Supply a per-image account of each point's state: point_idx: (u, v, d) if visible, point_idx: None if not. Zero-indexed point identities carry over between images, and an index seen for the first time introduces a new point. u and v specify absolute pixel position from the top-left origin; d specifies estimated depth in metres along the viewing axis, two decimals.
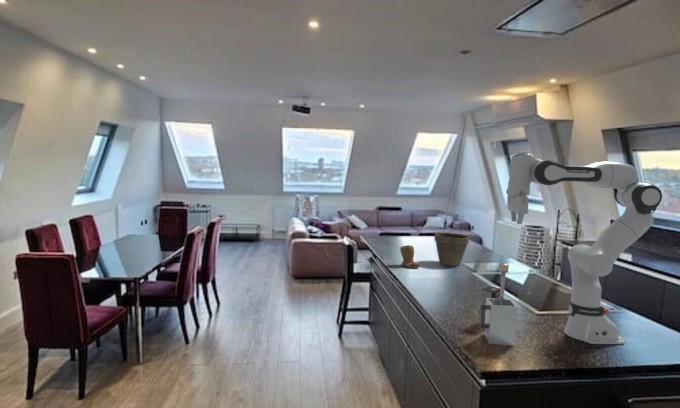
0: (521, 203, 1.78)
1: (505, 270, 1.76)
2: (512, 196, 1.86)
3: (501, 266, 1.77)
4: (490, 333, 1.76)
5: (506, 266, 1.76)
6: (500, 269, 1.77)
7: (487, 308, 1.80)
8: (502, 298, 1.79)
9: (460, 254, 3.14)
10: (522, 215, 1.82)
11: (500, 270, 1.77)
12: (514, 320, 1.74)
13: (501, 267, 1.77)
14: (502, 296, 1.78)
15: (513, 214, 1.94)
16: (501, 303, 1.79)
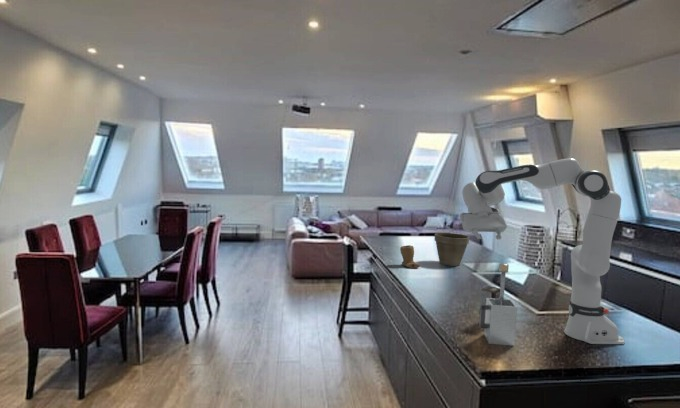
0: (462, 222, 1.93)
1: (505, 270, 1.76)
2: None
3: (501, 266, 1.77)
4: (490, 333, 1.76)
5: (506, 266, 1.76)
6: (500, 269, 1.77)
7: (487, 308, 1.80)
8: (502, 298, 1.79)
9: (460, 254, 3.14)
10: (473, 230, 1.90)
11: (500, 270, 1.77)
12: (514, 320, 1.74)
13: (501, 267, 1.77)
14: (502, 296, 1.78)
15: (498, 233, 1.92)
16: (501, 303, 1.79)
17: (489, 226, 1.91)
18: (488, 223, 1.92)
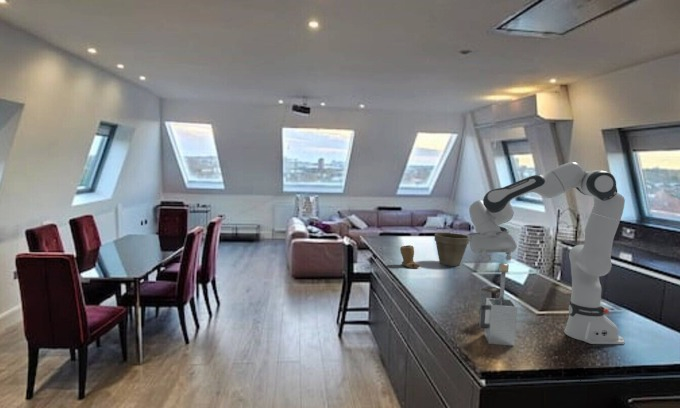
0: (470, 243, 1.86)
1: (505, 270, 1.76)
2: None
3: (501, 266, 1.77)
4: (490, 333, 1.76)
5: (506, 266, 1.76)
6: (500, 269, 1.77)
7: (487, 308, 1.80)
8: (502, 298, 1.79)
9: (460, 254, 3.14)
10: (482, 251, 1.82)
11: (500, 270, 1.77)
12: (514, 320, 1.74)
13: (501, 267, 1.77)
14: (502, 296, 1.78)
15: (507, 253, 1.85)
16: (501, 303, 1.79)
17: (498, 247, 1.84)
18: (497, 243, 1.85)
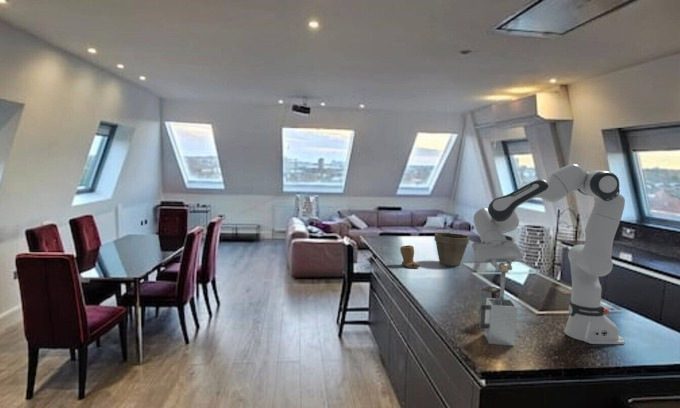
0: (474, 252, 1.82)
1: (505, 270, 1.76)
2: None
3: (501, 266, 1.77)
4: (490, 333, 1.76)
5: (506, 266, 1.76)
6: None
7: (487, 308, 1.80)
8: (502, 298, 1.79)
9: (460, 254, 3.14)
10: (492, 261, 1.79)
11: (500, 270, 1.77)
12: (514, 320, 1.74)
13: (501, 267, 1.77)
14: (502, 296, 1.78)
15: (508, 263, 1.80)
16: (501, 303, 1.79)
17: (504, 256, 1.80)
18: (503, 253, 1.81)
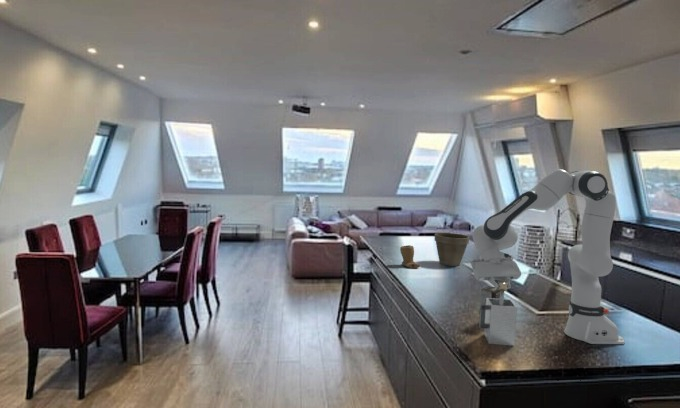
0: (473, 270, 1.83)
1: (504, 289, 1.77)
2: None
3: (500, 284, 1.78)
4: (490, 333, 1.76)
5: (505, 284, 1.77)
6: None
7: (487, 308, 1.80)
8: None
9: (460, 254, 3.14)
10: (491, 279, 1.79)
11: (499, 288, 1.78)
12: (514, 320, 1.74)
13: (500, 285, 1.78)
14: None
15: (507, 281, 1.81)
16: None
17: (502, 274, 1.80)
18: (501, 271, 1.82)
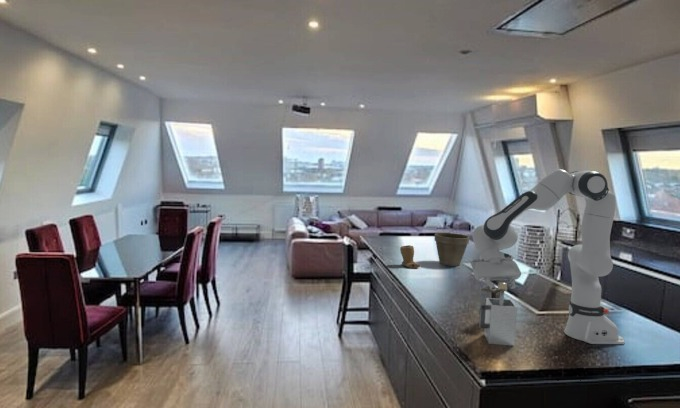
0: (473, 270, 1.83)
1: (504, 289, 1.77)
2: None
3: (500, 284, 1.78)
4: (490, 333, 1.76)
5: (505, 285, 1.77)
6: (499, 287, 1.78)
7: (487, 308, 1.80)
8: None
9: (460, 254, 3.14)
10: (486, 279, 1.79)
11: (499, 288, 1.78)
12: (514, 320, 1.74)
13: (500, 285, 1.78)
14: None
15: (512, 281, 1.81)
16: None
17: (502, 274, 1.81)
18: (501, 271, 1.82)
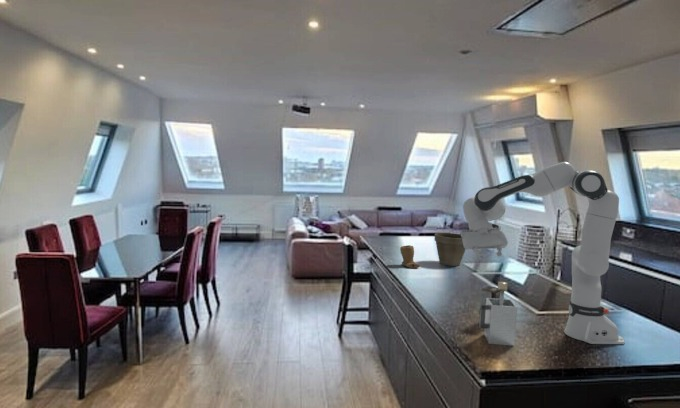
0: (462, 240, 1.94)
1: (504, 289, 1.77)
2: None
3: (500, 284, 1.78)
4: (490, 333, 1.76)
5: (505, 285, 1.77)
6: (499, 287, 1.78)
7: (487, 308, 1.80)
8: None
9: (460, 254, 3.14)
10: (474, 248, 1.91)
11: (499, 288, 1.78)
12: (514, 320, 1.74)
13: (500, 285, 1.78)
14: None
15: (499, 250, 1.93)
16: None
17: (490, 243, 1.92)
18: (489, 240, 1.93)
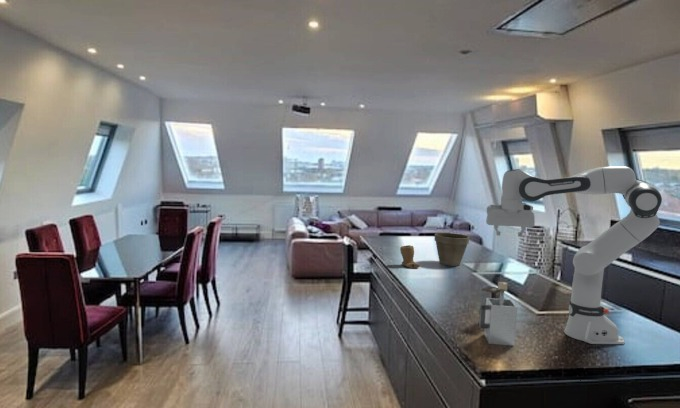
0: (487, 214, 1.97)
1: (504, 289, 1.77)
2: None
3: (500, 284, 1.78)
4: (490, 333, 1.76)
5: (505, 285, 1.77)
6: (499, 287, 1.78)
7: (487, 308, 1.80)
8: None
9: (460, 254, 3.14)
10: (494, 227, 1.95)
11: (499, 288, 1.78)
12: (514, 320, 1.74)
13: (500, 285, 1.78)
14: None
15: (522, 229, 1.94)
16: None
17: (513, 224, 1.93)
18: (514, 221, 1.93)
